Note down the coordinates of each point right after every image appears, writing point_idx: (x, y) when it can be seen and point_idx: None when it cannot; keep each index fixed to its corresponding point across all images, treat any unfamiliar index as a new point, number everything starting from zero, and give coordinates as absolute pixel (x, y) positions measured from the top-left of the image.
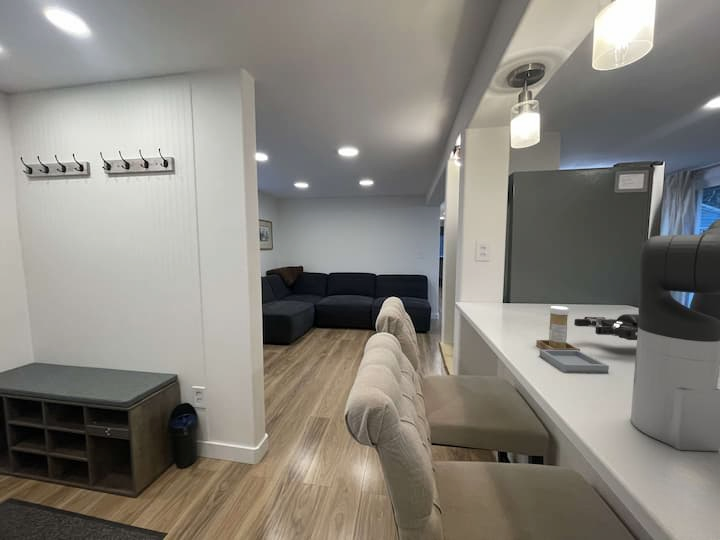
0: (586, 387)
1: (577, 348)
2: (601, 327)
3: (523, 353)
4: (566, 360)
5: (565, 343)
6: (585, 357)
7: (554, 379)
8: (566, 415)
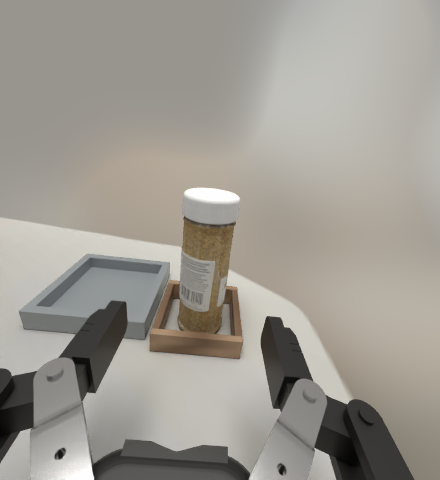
0: (31, 261)
1: (157, 331)
2: (104, 312)
3: None
4: (122, 289)
5: (184, 308)
6: None
7: (80, 248)
8: (17, 222)
